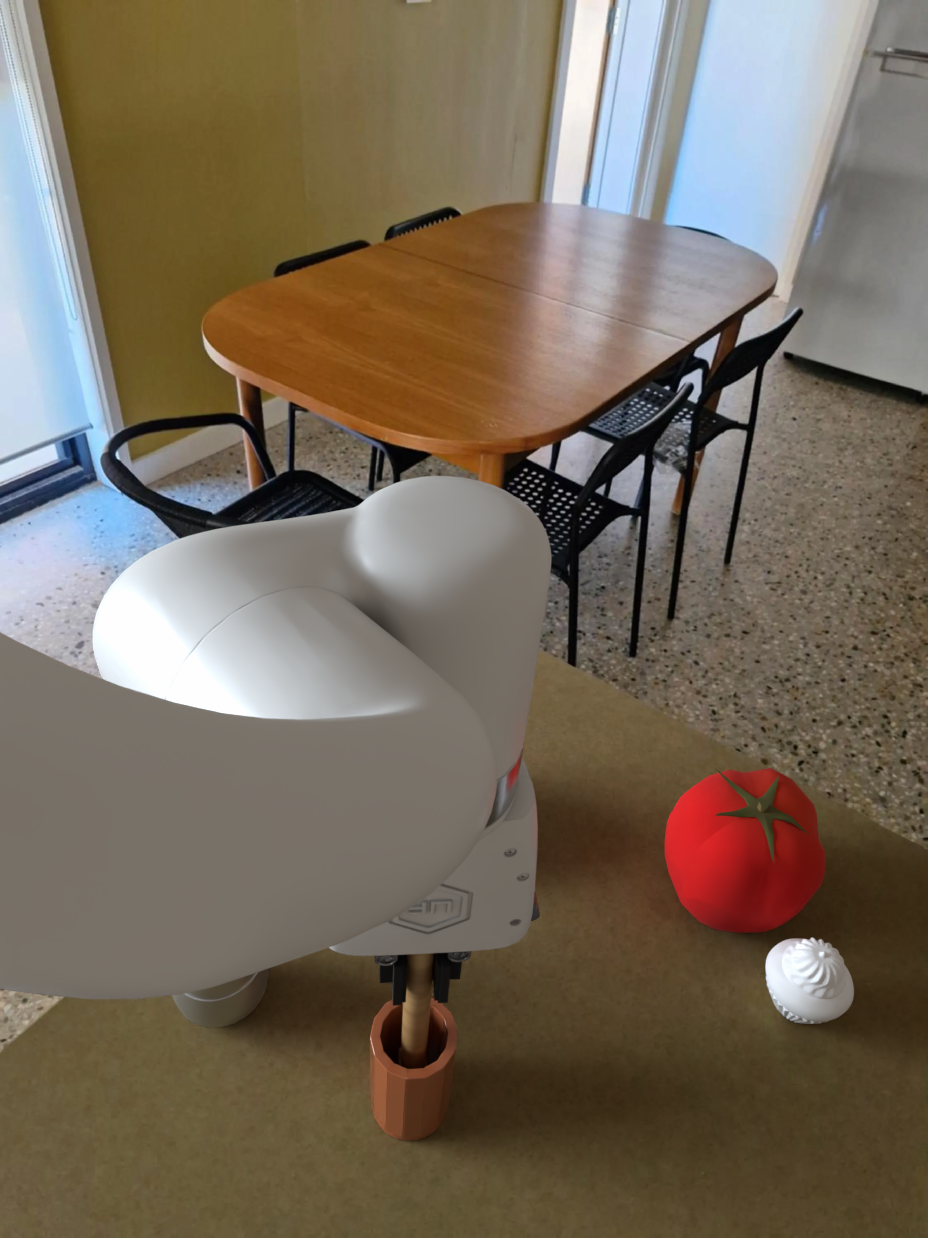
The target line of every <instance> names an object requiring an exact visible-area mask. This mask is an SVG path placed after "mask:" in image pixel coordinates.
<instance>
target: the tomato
mask: <svg viewBox="0 0 928 1238" xmlns="http://www.w3.org/2000/svg"><path fill="white" fill-rule="evenodd" d="M714 769H715V770H716V771H717V773H713V774H710V775H708V776H706V777H705V778H703V779H702V780H700V781H698V782H697V783H696V784H695V785H693V786H692V787H690V788H689V789H688V790H686V792H684V793H682V795H681V796H680V797H679V799H678V800H677V802H676V804H675V805H674V807H673V809H672V810H671V812H670V814H669V816H668V819H667V821H666V828H665V836H664V859H665V863H666V867H667V870H668V871H667V872H668V875H669V877H670V880H671V882H672V885H673V887H674V890H675V892H676V895H677V898H678V900H679V902H680V904H681V905H682V906H683V907H684V909H686V910H687V912H689V913H690V914H691V915H692V916H693V917H694V918H695V920H697V921H698V922H699V923H701V924H703V925H705V926H707V927H708V928H711V929H713V930H715V931H720V932H728V933H736V934H737V933H738V934H747V933H748V934H749V933H751V934H752V933H753V934H754V933H766V932H769V931H772V930H774V929H776V928H778V927H780V926H782V925H784V924H787V923H788V922H789V921H790V920H791V919H793V918H794V917H796V915H798V914H799V913H801V912H802V911H803V909H804V908H805V906H806V905H807V904H808V903H809V902H810V900H811V899H812V898H813V896H814V895H815V894H816V893H817V891H818V890H819V889H820V887H821V886H823V881H824V877H825V873H826V869H827V866H826V850H825V849H824V846H823V844H822V842H821V840H820V834H819V823H818V813H817V810H816V807H815V804H814V802H813V801H811V799H810V797H808V795H807V794H806V793H805V792H804V791H803V789H802V788H801V787H800V786H799V785H798V784H797V783H796V782H795V781H794V780H793V779H792V778H791V777H789V776H787V775H785V774H784V773H782V772H780V771H778V770H776V769H774V768H772V767H768V768H767V767H766V768H761V769H757V770H750V771H744V772H743V771H739V770H734V769H726V770H724V771H720V770H718V769H717V768H716V767H714Z"/></svg>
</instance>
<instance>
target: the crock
mask: <svg viewBox="0 0 928 1238" xmlns="http://www.w3.org/2000/svg"><path fill="white" fill-rule="evenodd" d="M402 1016H403V1003H402V1005H397V1006H393V1000H392V999H390V1000H389V1001H387V1002H386V1003H385V1004H383V1006H382V1007H381V1008H380V1010H379V1011H378V1013H377V1014H376V1015H375V1016H374V1018H373V1021H372V1026H371V1031H370V1035H369V1099H370V1107H371V1112H372V1115H373V1118H374V1120H375V1122H376V1124H377V1125H378V1127H379V1128H380V1129H381V1130H382V1131H383V1132H384V1133H386V1134H387V1135H388V1136H390V1137H391V1138H394V1139H397V1140H400V1141H404V1142H405V1141H406V1142H414V1141H419V1140H422V1139H425V1138H426V1137H428V1136H430V1135H431V1134H433V1133H434V1132H435V1131H436V1130H437V1129H438V1128H439V1127H440V1126H441V1125H442V1123H443V1121H444V1120H445V1118H446V1115H447V1113H448V1110H449V1103H450V1102H449V1101H450V1098H451V1097H450V1096H451V1089H452V1081H453V1073H454V1067H455V1059H456V1052H457V1045H458V1037H459V1031H458V1027H457V1024H456V1022H455V1021H456V1020H455V1018H454V1015H453V1014H452V1012H451V1011H450V1010H449V1009H448V1008H447V1007H446V1005H444V1003H438V1001H434V997H432V996H431V1007H430V1019H429V1030H428V1042H427V1067H425V1068H418V1069H407V1068H404V1067H402V1066H399V1065H398V1048H401V1038H402Z"/></svg>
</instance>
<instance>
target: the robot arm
mask: <svg viewBox="0 0 928 1238" xmlns="http://www.w3.org/2000/svg"><path fill="white" fill-rule="evenodd" d="M551 569H552V549H551V544H550V539H549V536H548V533H547V530H546V529H545V527H544V524H543V523H542V521H541V519H540V518H539V516H537V514H536V513H535V512H534V511H533V509H532V508H531V507H530V506H529V505H528V504H527V503H525V502H524V501H523V500H522V499H520V498H518V497H517V496H514V494H512V493H510V492H508V491H507V490H505V489H503V488H501V487H498V486H496V485H495V484H491V483H488V482H485V481H482V480H477V479H473V478H468V477H463V476H453V475H430V476H427V475H426V476H419V477H413V478H408V479H404V480H401V481H398V482H394V483H392V484H390V485H387V486H385V487H382V488H381V489H379V490H377V491H376V492H374V493H372V494H371V495H369V496H368V497H366V498H365V499H364V500H363V501H362V502H361V503H359V504H358V505H356V506H354V507H350V508H344V509H340V510H334V511H329V512H324V513H323V512H322V513H316V514H311V515H304V516H296V517H289V518H282V519H276V520H275V519H274V520H269V521H261V522H253V523H246V524H238V525H231V526H226V527H221V528H215V529H211V530H210V529H209V530H206V531H202V532H197V533H193V534H190V535H187V536H183V537H181V538H178V539H176V540H173V541H171V542H169V543H166V544H164V545H162V546H160V547H158V548H155V549H153V550H151V551H150V552H147V553H146V554H144V555H143V556H141V557H140V558H138V559H137V560H136V561H135V562H133V563H132V564H130V565H129V566H127V568H126V569H124V570H123V571H122V573H120V574H119V575H118V577H117V578H116V579H114V581H113V582H112V583H111V585H110V586H109V588H108V589H107V591H106V592H105V593H104V595H103V596H102V599H101V601H100V603H99V606H98V608H97V610H96V612H95V617H94V621H93V625H92V638H91V639H92V640H91V641H92V649H93V655H94V659H95V662H96V665H97V668H98V671H99V675H100V676H101V677H98V676H96V675H93V674H91V673H88V672H86V671H84V670H81V669H78V668H75V667H74V666H70V665H68V664H67V663H64V662H62V661H60V660H58V659H56V658H53V657H52V656H50V655H47V654H45V653H43V652H41V651H38V650H37V649H35V648H33V647H30V646H29V645H26V644H24V643H21V642H19V641H17V639H16V640H15V639H14V638H12V637H10V636H8V635H7V634H4V633H2V632H1V631H0V990H5V991H13V992H17V993H25V994H33V995H39V996H49V997H60V998H73V999H81V1000H141V999H143V1000H144V999H151V998H152V999H153V998H160V997H169V996H172V995H179V994H184V993H189V992H193V991H198V990H202V989H206V988H211V987H215V986H218V985H221V984H224V983H227V982H230V981H233V980H236V979H239V978H242V977H245V976H248V975H251V974H254V973H257V972H260V971H263V970H265V969H268V968H269V969H271V968H274V967H277V966H280V965H283V964H286V963H289V962H292V961H295V960H297V959H300V958H302V957H307V956H309V955H311V954H315V953H317V952H320V951H324V950H326V949H330V950H331V951H333V952H336V953H338V954H342V955H345V956H354V957H373V958H374V963H375V964H376V965H378V970H379V971H378V973H379V974H378V975H379V976H378V977H379V979H378V980H379V984H391V997H392V999H391V1000H393V1006H397V1005H402V1003H403V1002H406V987H407V954H428V953H435V959H434V971H433V983H432V991H433V998H434V1001H438V1003H442V1004H447V1003H448V1002H449V993H450V983H451V981H453V980H460V979H461V976H462V967H463V962H466V961H468V960H469V959H470V958H471V956H472V952H477V951H490V950H497V949H502V948H507V947H509V946H512V945H515V944H517V943H519V942H520V941H521V940H522V939H523V938H525V936H526V935H527V933H528V932H529V930H530V926H531V924H532V923H531V922H534V921H536V920H538V919H539V918H540V916H541V913H540V908H539V902H538V897H537V892H536V879H537V862H538V840H539V839H538V837H539V836H538V835H539V834H538V831H539V827H538V826H539V825H538V808H537V807H538V806H537V799H536V798H537V797H536V793H535V788H534V784H533V780H532V779H531V776H530V772H529V769H528V766H527V764H526V761H525V760H524V758H523V752H524V746H525V738H526V732H527V727H528V719H529V713H530V708H531V700H532V695H533V689H534V683H535V678H536V677H535V676H536V671H537V664H538V657H539V652H540V645H541V639H542V633H543V627H544V620H545V613H546V609H547V608H546V607H547V601H548V595H549V588H550V580H551V571H552V570H551Z"/></svg>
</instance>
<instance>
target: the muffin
mask: <svg viewBox="0 0 928 1238" xmlns="http://www.w3.org/2000/svg"><path fill="white" fill-rule="evenodd" d="M764 966H765V967H764V969H765V980H766V987H767V989H768V993H769V995H770V998H771V1000H772V1002H773V1005H774V1007H775V1008H776V1010H777V1011H778V1012H779V1014H781V1015H782V1017H785V1018H786V1020H789V1021H790V1022H794V1023H795V1024H796V1023H797V1024H805V1025H806V1024H807V1025H808V1024H810V1025H811V1024H812V1025H813V1024H816V1025H819V1024H822V1023H828V1022H829V1021H834V1020H836V1019H837V1018H839V1017H841V1016H842V1015H843V1014H845V1013H846V1012H847V1011H848V1010H849V1009H850V1007H851V1006H852V1004H853V1002H854V996H855V987H854V982H853V978H852V975H851V973H850V971H849V969H848V967H847V966H846V964H845V960H844V958H843V956H842V955H840V952H839V950H838V949H837V948H835V947H833V944H832V943H830V942H824V940H823V938H819V939H818V940H817V939H816V938H815V937H810V938H809V939H808V938H797V937H795V938H794V937H793V938H788V939H784V940H782V941H780V942H778V943H777V944H776V945H774V946H773V947H772V948H771V949H770V951H769V952H768V954H767V956H766V958H765V965H764Z"/></svg>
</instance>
